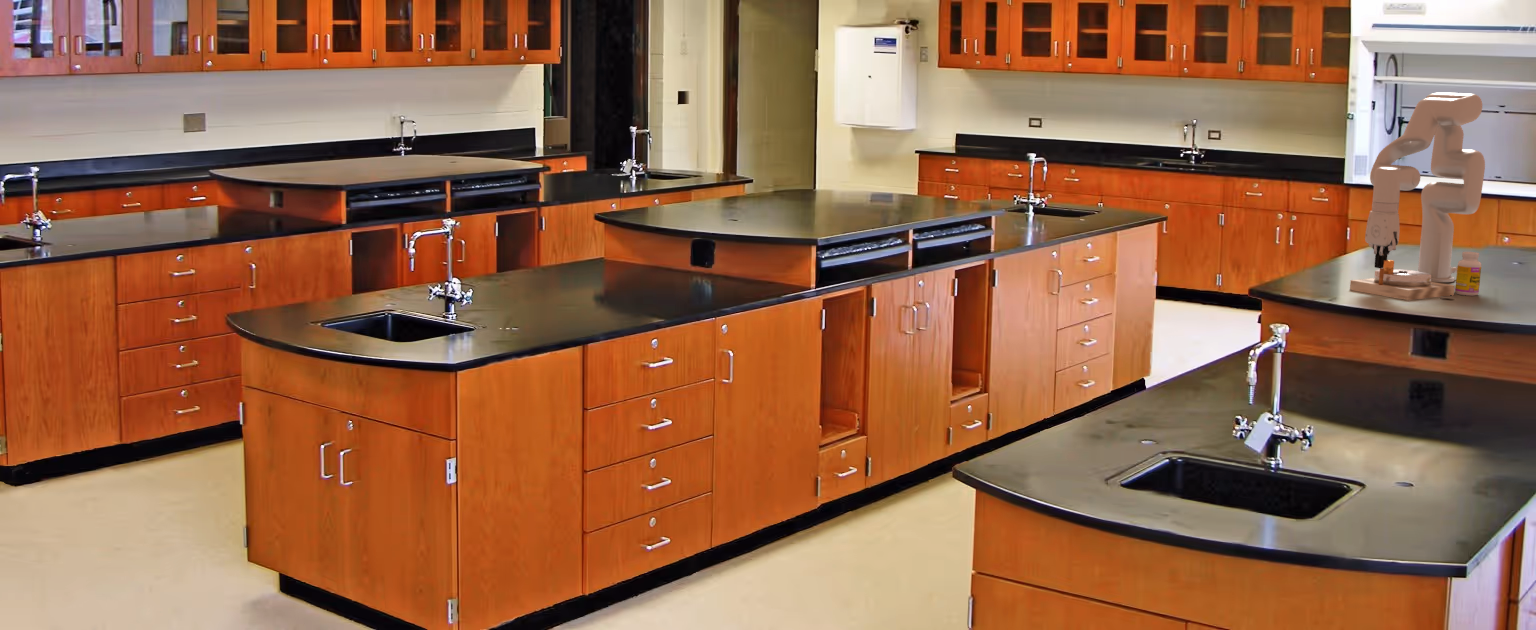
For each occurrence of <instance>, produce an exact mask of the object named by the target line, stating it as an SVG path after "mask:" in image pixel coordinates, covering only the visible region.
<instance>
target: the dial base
mask: <svg viewBox="0 0 1536 630" xmlns="http://www.w3.org/2000/svg"><path fill="white" fill-rule="evenodd" d="M1379 270H1380V273H1379V283H1377V282H1375V281H1374V277H1371V278H1361V279H1360V278H1359V279H1352V280H1350V282H1349V284H1350V285H1349V286H1350V287H1349V291H1354V292H1359V293H1365V294H1372V295H1377V296H1383V297H1389V298H1395V299H1400V300H1404V301H1405V300H1406V301H1410V300H1411V301H1412V300H1421V299H1431V298H1441V296H1442V297H1449V296H1450V295H1452V296H1454V295H1455V294H1454V293H1455V285H1453V284H1447V283H1443V282H1431V284H1430V285H1429V286H1422V287H1408V286H1394V285H1386V284H1383V276H1384V268H1379ZM1450 297H1451V296H1450Z"/></svg>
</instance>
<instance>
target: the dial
mask: <svg viewBox="0 0 1536 630" xmlns="http://www.w3.org/2000/svg"><path fill="white" fill-rule="evenodd" d="M1383 268H1384V276H1383V284H1386V285H1394V286H1408V287H1422V286H1429V285H1430V284H1431V274H1429V273H1425V272H1420V271H1418V270H1413V269H1411V270H1409V269H1394V268H1395V260H1393V259H1387V260H1384V263H1383ZM1379 273H1380V269H1376V270H1375V271H1374V277H1373V278H1374V281H1375V282H1377V283H1379Z"/></svg>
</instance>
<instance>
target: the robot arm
mask: <svg viewBox="0 0 1536 630" xmlns="http://www.w3.org/2000/svg"><path fill="white" fill-rule="evenodd" d="M1482 111H1483V102H1482V98H1481V97H1480V96H1479V95H1477V94H1475V93H1463V92H1459V93H1458V92H1434V93H1430V94H1428V95H1427V96H1426V97H1425V98H1422V99H1420V100H1419V101H1418V102H1417V104H1416V106H1415V108H1414V110H1413V112H1412V115H1411V116H1410V119H1409V121H1408V123H1407V125H1406V127H1405V130H1404V132H1403V134H1402V135H1401V136H1399V137H1398V138H1397V137H1396V139H1394V140H1393V141H1391V142H1390V143H1389V144H1387V145H1386V146H1384V148H1382V149H1381V150H1380V152H1379V153H1378V155H1377V156H1376V158H1375V160H1374V162H1373V165H1372V168H1371V171H1370V175H1369V181H1370V183H1371V185H1372V186H1373V192H1372V193H1373V194H1372V202H1371V203H1372V204H1371V210H1369V214H1368V218H1367V220H1366V221H1367V222H1366V229H1365V237H1364V240H1365V241H1364V242H1365V243H1367V244H1368V246H1369V247H1370V248H1372V250H1373V254H1374V256H1375V257H1374V268H1376V269H1380V268H1383V263H1384V260H1388V256H1389V255H1390V252H1393V251H1396V250H1397V246H1398V245H1399V241H1400V229H1401V228H1400V215H1399V206H1400V205H1399V204H1400V193H1401V191H1412V190H1414V189H1416V188H1417V187H1418V186H1419V184H1420V182H1421V173H1420V171H1419V169H1417V168H1416V167H1414V166H1411V165H1400V164H1393V163H1394V162H1395V161H1397V160H1399V159H1402V158H1404V157H1407V156H1410V155H1413V154H1416V153H1419V152H1422V151H1424V150H1426V149H1428V148H1429V147H1430V146H1431V144H1432V141H1433V144H1432V145H1433V146H1432V152H1431V153H1432V154H1431V159H1430V160H1431V162H1430V172H1431V174H1432V175H1433V176H1435V177H1437V178H1441V179H1443V178H1444V179H1452V180H1453V179H1454V180H1462V181H1463V183H1456V182H1445V181H1433V182H1430V183H1427V184H1426V185H1424V187H1423V189H1422V190H1421V195H1420V200H1421V210H1422V211H1421V212H1422V214H1421V215H1422V222H1421V232H1420V244H1419V246H1420V247H1419V255H1418V267H1417V271H1420V272H1425V273H1429V274H1431V282H1436V283H1453V282H1455V280H1456V279H1455V277H1454V276H1453V275H1452V274H1457V267H1456V266H1454V267H1452V265H1451V264H1452V253H1453V243H1454V242H1453V241H1454V233H1455V231H1454V230H1455V226H1454V225H1455V224H1454V222H1453V219H1452V217H1450V215H1449V214H1455V215H1456V214H1457V215H1472V214H1475V213H1476V212H1477V211H1478V209H1479V208H1480V205H1481V204H1480V203H1481V198H1482V192H1483V191H1482V190H1483V185H1484V178H1485V170H1486V161H1485V160H1486V159H1485V157H1484V154H1483V153H1482V152H1481V151H1479V150H1475V149H1466V148H1465V149H1464V148H1463V144H1464V143H1463V142H1464V137H1465V136H1464V135H1465V134H1464V129H1463V128H1462V126H1463V125H1466V124H1469V123H1471V122H1474V121H1476V120H1477V119H1478V118H1479V117H1480V115H1481V114H1482Z"/></svg>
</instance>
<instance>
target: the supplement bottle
mask: <svg viewBox="0 0 1536 630" xmlns="http://www.w3.org/2000/svg"><path fill="white" fill-rule="evenodd" d="M1461 257H1462V259H1460V260H1459V261H1458V263H1457V273H1456V279H1455V285H1454V293H1455V294H1456V295H1459V296H1460V295H1461V296H1465V295H1466V296H1468V297H1469V296H1470V297H1472V296H1473V297H1474V296H1479V293H1480V284H1481V273H1482V262H1480V261H1479V257H1480V253H1479V252H1474V251H1463V252H1462V254H1461Z"/></svg>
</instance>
